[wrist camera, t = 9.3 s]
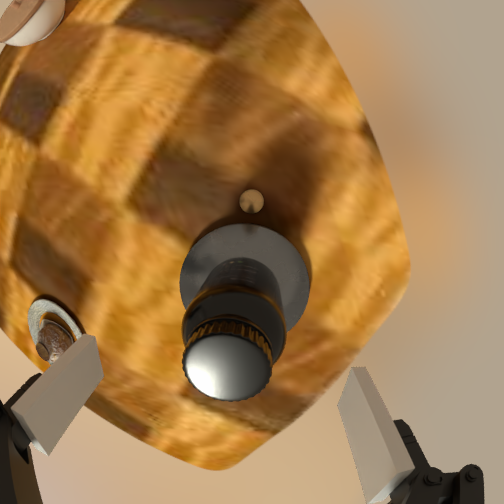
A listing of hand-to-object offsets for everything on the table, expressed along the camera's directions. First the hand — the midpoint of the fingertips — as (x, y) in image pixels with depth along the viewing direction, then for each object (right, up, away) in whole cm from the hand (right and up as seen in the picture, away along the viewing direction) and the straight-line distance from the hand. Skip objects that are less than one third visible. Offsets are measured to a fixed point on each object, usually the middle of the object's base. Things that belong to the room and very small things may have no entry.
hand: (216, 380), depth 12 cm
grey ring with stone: (-25, -5, +17) cm, 31 cm away
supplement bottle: (+1, +3, +13) cm, 13 cm away
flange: (+1, +3, +14) cm, 14 cm away
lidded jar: (-28, +39, +7) cm, 48 cm away
